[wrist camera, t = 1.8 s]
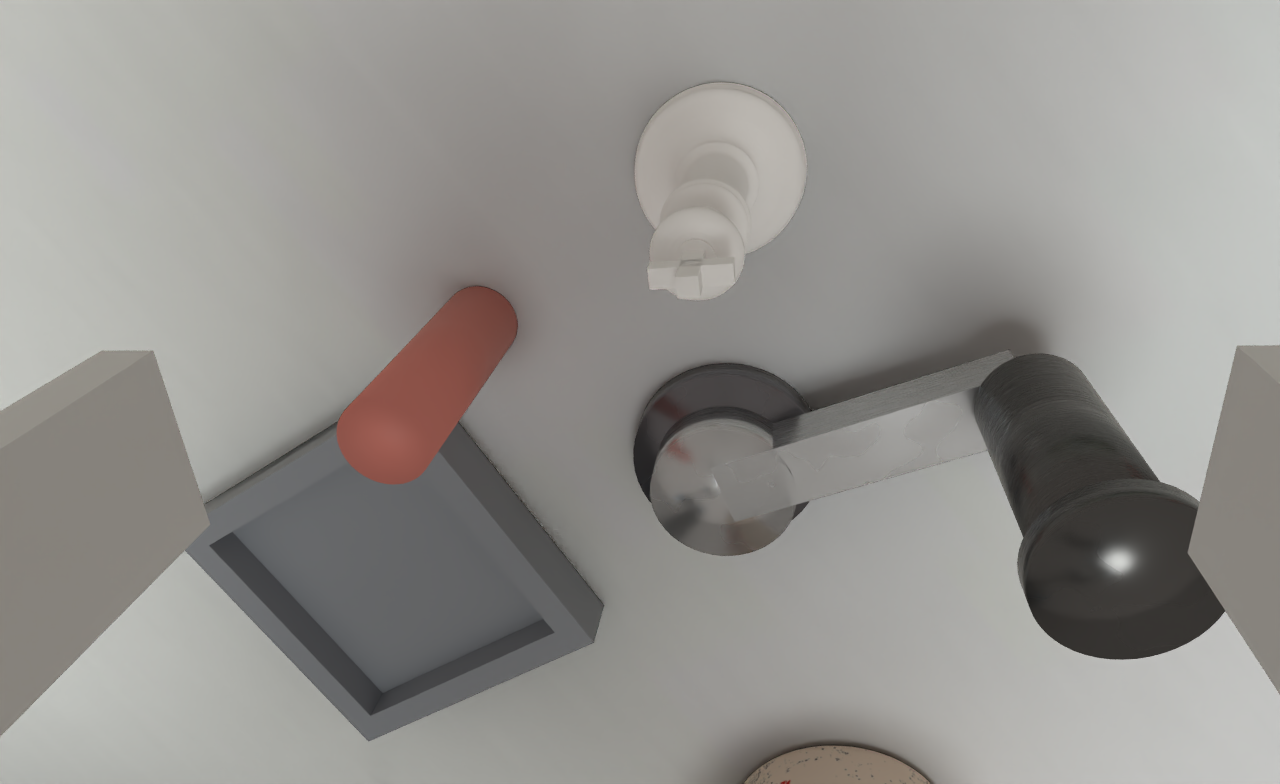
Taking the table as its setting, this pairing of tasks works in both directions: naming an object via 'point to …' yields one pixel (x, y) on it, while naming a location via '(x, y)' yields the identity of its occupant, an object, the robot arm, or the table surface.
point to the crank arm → (1026, 465)
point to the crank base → (711, 390)
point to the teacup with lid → (835, 768)
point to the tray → (395, 579)
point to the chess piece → (716, 185)
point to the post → (427, 388)
